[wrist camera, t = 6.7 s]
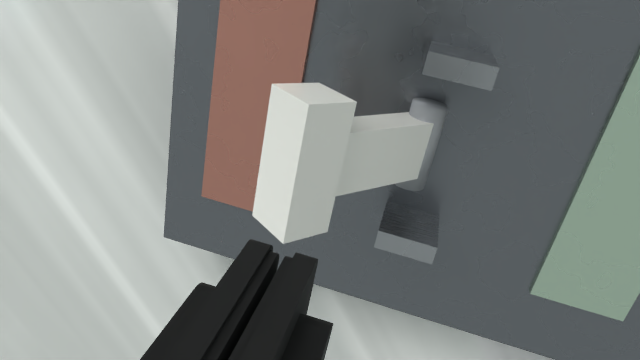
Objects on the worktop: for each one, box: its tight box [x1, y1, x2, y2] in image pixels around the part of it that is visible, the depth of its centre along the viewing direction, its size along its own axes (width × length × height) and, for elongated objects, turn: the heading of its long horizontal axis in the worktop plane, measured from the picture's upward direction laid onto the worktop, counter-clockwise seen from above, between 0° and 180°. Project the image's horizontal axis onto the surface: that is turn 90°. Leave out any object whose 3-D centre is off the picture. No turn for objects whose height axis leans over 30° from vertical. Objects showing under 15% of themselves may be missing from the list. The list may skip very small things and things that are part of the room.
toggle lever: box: [252, 83, 449, 244], centre depth 23 cm, size 2×6×10 cm
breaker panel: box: [164, 0, 640, 360], centre depth 27 cm, size 30×22×9 cm
